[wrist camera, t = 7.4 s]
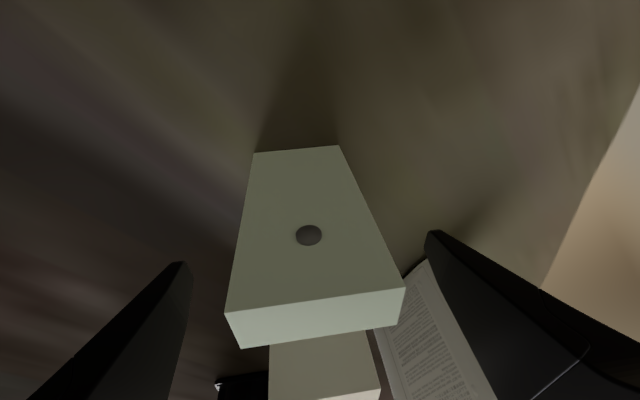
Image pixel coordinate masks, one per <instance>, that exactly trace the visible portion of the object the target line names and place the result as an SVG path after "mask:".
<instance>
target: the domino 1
mask: <svg viewBox="0 0 640 400" xmlns="http://www.w3.org/2000/svg"><path fill="white" fill-rule="evenodd" d="M405 289H406V286H405V284H404V282H403V279H402V277H401V275H400V273H399V271H398V269H397V267H396V265H395V263H394V260H393V258H392V256H391V254H390V252H389V250H388V248H387V246H386V244H385V241H384V239H383V237H382V235H381V233H380V231H379V229H378V227H377V225H376V222H375V220H374V218H373V216H372V214H371V212H370V210H369V208H368V206H367V203H366V201H365V199H364V197H363V195H362V193H361V191H360V189H359V187H358V185H357V182H356V180H355V178H354V176H353V174H352V172H351V170H350V168H349V166H348V163H347V161H346V159H345V157H344V155H343V153H342V151H341V149H340V147H339V145H333V146H322V147H312V148H301V149H291V150H280V151H270V152H259V153H254V154H253V160H252V165H251V171H250V176H249V181H248V187H247V192H246V197H245V203H244V208H243V214H242V219H241V224H240V230H239V235H238V240H237V246H236V251H235V256H234V262H233V267H232V273H231V278H230V283H229V289H228V294H227V299H226V305H225V310H224V314H225V316H226V319H227V321H228V323H229V325H230V327H231V329H232V331H233V334H234V336H235V338H236V340H237V342H238V344H239V346H240V348H241V349H245V348H251V347H258V346H264V345H271V344H277V343H284V342H290V341H296V340H303V339H309V338H316V337H322V336H329V335H335V334H342V333H348V332H354V331H361V330H367V329H374V328H380V327H387V326H393V325H397V322H398V318H399V314H400V310H401V306H402V302H403V298H404V294H405Z"/></svg>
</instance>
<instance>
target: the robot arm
mask: <svg viewBox="0 0 640 400" xmlns="http://www.w3.org/2000/svg"><path fill="white" fill-rule="evenodd" d="M424 251H425V254H426V256H427V259H428V261H429V264H430V266H431V269H432V271H433V274H434V277H435V279H436V282H437V284H438V286H439V288H440V291H441V293H442V294H443V296H444V298H445V300H446V302H447V304H448V306H449V308H450V310H451V312H452V314H453V316H454V317H455V319H456V321H457V323H458V325H459V327H460V329H461V331H462V333H463V335H464V337H465V338H466V340H467V342H468V344H469V346H470V348H471V350H472V352H473V354H474V356H475V358H476V359H477V361H478V363H479V365H480V367H481V369H482V371H483V373H484V375H485V377H486V379H487V380H488V382H489V384H490V386H491V388H492V390H493V392H494V394H495V396H496V398H497V400H640V343H639V342H637V341H635V340H633V339H631V338H629V337H628V336H625V335H624V334H622V333H620V332H618V331H616V330H614V329H612V328H610V327H608V326H607V325H605V324H602V323H601V322H599V321H597V320H595V319H593V318H591V317H589V316H588V315H586V314H584V313H582V312H580V311H578V310H576V309H574V308H573V307H571V306H569V305H567V304H566V303H564V302H562V301H560V300H558V299H557V298H555V297H553V296H552V295H550V294H548V293H546V292H545V291H543V290H542V289H538V287H536V286H535V285H533V284H531V283H530V282H528V281H526V280H525V279H523V278H521V277H519V276H518V275H516V274H514V273H513V272H511V271H509V270H508V269H506V268H504V267H503V266H501V265H499V264H497V263H496V262H494V261H492V260H491V259H489V258H487V257H486V256H484V255H482V254H481V253H479V252H477V251H476V250H474V249H472V248H470V247H469V246H467V245H465V244H464V243H462V242H460V241H459V240H457V239H455V238H454V237H452V236H450V235H448V234H447V233H445V232H443V231H442V230H430V231H429V232H428V233H427V237H426V240H425V244H424ZM192 288H193V275H192V273H191V271H190V269H189V267H188V265H187V263H186V262H185V261H178V262H172V263H171V264H169V265H168V266H167V267H166V268H165V269H164V270H163V271H162V272H161V273H160V274H159V275H158V276H157V277H156V278H155V279H154V280H153V281H152V282H151V283H150V284H148V285H147V286H146V287H145V288H144V289H143V290H142V291H141V292H140V293H139V294H138V295H137V296H136V297H135V298H134V299H133V300H132V301H131V302H130V303H129V304H128V305H126V306H125V307H124V308H123V309H122V310H121V311H120V312H119V313H118V314H117V315H116V316H115V317H114V318H113V319H112V320H111V321H110V322H109V323H108V324H107V325H105V326H104V327H103V328H102V329H101V330H100V331H99V332H98V333H97V334H96V335H95V336H94V337H93V338H92V339H91V340H90V341H89V342H88V343H87V344H86V345H85V346H83V347H82V348H81V349H80V350H79V351H78V352H77V353H76V354H75V355H74V358H71V359H70V360H69V361H68V362H67V363H65V364H64V365H63V366H62V367H61V368H60V369H59V370H58V371H57V372H56V373H55V374H54V375H53V376H52V377H51V378H50V379H48V380H47V381H46V382H45V383H44V384H43V385H42V386H41V387H40V388H39V389H38V390H37V391H35V392H34V393H33V394H32V395H31V396H30V397H29V398H27V399H26V400H167V399H168V395H169V392H170V388H171V384H172V380H173V376H174V373H175V369H176V365H177V361H178V357H179V353H180V350H181V346H182V342H183V338H184V334H185V330H186V326H187V322H188V316H189V309H190V302H191V295H192ZM268 385H269V372H264V373H258V374H251V375H245V376H239V377H233V378H227V379H220V380H216V381H215V387H216V389H217V390H218V391H219V393H218V399H217V400H268Z"/></svg>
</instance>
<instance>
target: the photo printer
mask: <svg viewBox="0 0 640 400" xmlns="http://www.w3.org/2000/svg"><path fill="white" fill-rule="evenodd" d="M403 282H404V284H405V286H406V289H405V294H404V298H403V302H402V306H401V310H400V314H399V318H398V322H397V325H393V326H387V327H380V328H374V329H373V330H374V333H375V337H376V340H377V343H378V347H379V350H380V353H381V357H382V360H383V363H384V367H385V370H386V373H387V377H388V380H389V384H390V387H391V390H392V394H393V397H394V400H497V398H496V396H495V394H494V392H493V390H492V388H491V386H490V384H489V382H488V380H487V379H486V377H485V375H484V373H483V371H482V369H481V367H480V365H479V363H478V361H477V359H476V358H475V356H474V354H473V352H472V350H471V348H470V346H469V344H468V342H467V340H466V338H465V337H464V335H463V333H462V331H461V329H460V327H459V325H458V323H457V321H456V319H455V317H454V316H453V314H452V312H451V310H450V308H449V306H448V304H447V302H446V300H445V298H444V296H443V294H442V293H441V291H440V288H439V286H438V284H437V282H436V279H435V277H434V274H433V271H432V269H431V266H430V264H429V261H428V259H426V260H424V261H423V262H422V263H420V264H419V265H418V266H417V267H416V268H414V269H413V270H412V271H411V272H410V273H409V274H408V275H407V276H406V277H405V278H404V279H403Z"/></svg>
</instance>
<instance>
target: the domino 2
mask: <svg viewBox="0 0 640 400" xmlns="http://www.w3.org/2000/svg"><path fill="white" fill-rule="evenodd" d="M380 391H381V387H380V383H379V379H378V376H377V372H376V369H375V365H374V361H373V358H372V354H371V350H370V347H369V343H368V340H367V336H366V332H365V330H361V331H354V332H348V333H342V334H335V335H329V336H322V337H316V338H309V339H303V340H296V341H290V342H284V343H277V344H271V345H270V350H269V385H268V400H378V399H379V395H380Z"/></svg>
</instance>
